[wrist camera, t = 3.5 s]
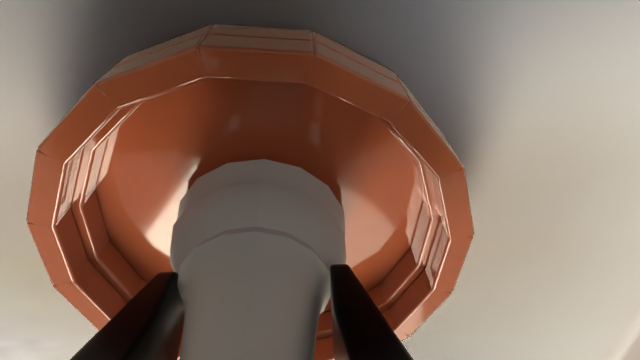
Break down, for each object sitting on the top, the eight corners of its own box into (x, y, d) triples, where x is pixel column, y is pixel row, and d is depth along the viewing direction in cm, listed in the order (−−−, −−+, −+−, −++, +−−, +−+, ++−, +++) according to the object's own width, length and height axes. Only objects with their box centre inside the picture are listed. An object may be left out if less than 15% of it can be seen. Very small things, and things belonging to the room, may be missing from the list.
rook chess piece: (171, 142, 10) (-106, 646, 3) (355, 154, 10) (462, 624, 3) (187, 273, 12) (51, 711, 6) (335, 279, 13) (374, 695, 6)
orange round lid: (339, 351, 15) (343, 405, 14) (47, 274, 13) (9, 329, 11) (525, 134, 10) (567, 176, 9) (117, -75, 8) (65, -70, 6)
